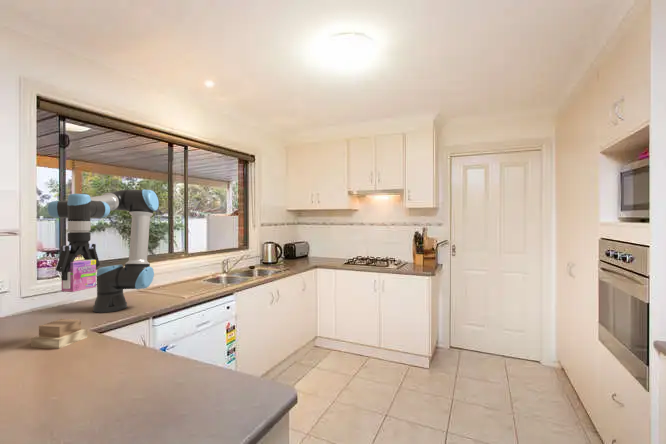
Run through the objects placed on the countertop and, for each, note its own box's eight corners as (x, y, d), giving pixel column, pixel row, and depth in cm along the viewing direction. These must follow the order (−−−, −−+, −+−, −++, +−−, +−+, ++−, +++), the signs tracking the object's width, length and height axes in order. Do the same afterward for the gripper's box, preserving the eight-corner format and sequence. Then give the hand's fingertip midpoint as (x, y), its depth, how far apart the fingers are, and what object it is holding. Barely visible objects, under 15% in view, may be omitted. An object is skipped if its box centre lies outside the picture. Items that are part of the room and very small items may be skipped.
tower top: (61, 328, 136) (61, 318, 136) (81, 329, 134) (80, 319, 134) (38, 336, 127) (38, 326, 127) (59, 337, 126) (59, 327, 125)
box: (73, 292, 131) (73, 262, 131) (61, 291, 132) (61, 261, 132) (96, 287, 141) (96, 259, 141) (85, 287, 142) (85, 259, 142)
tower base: (61, 337, 137) (61, 327, 137) (87, 338, 135) (87, 328, 135) (31, 348, 125) (31, 338, 125) (59, 350, 124) (59, 339, 124)
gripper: (94, 231, 149) (94, 281, 149) (43, 232, 126) (43, 291, 126) (109, 231, 148) (109, 281, 148) (61, 232, 125) (61, 291, 125)
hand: (79, 285), depth 137 cm, fingers closed on box, 11 cm apart
